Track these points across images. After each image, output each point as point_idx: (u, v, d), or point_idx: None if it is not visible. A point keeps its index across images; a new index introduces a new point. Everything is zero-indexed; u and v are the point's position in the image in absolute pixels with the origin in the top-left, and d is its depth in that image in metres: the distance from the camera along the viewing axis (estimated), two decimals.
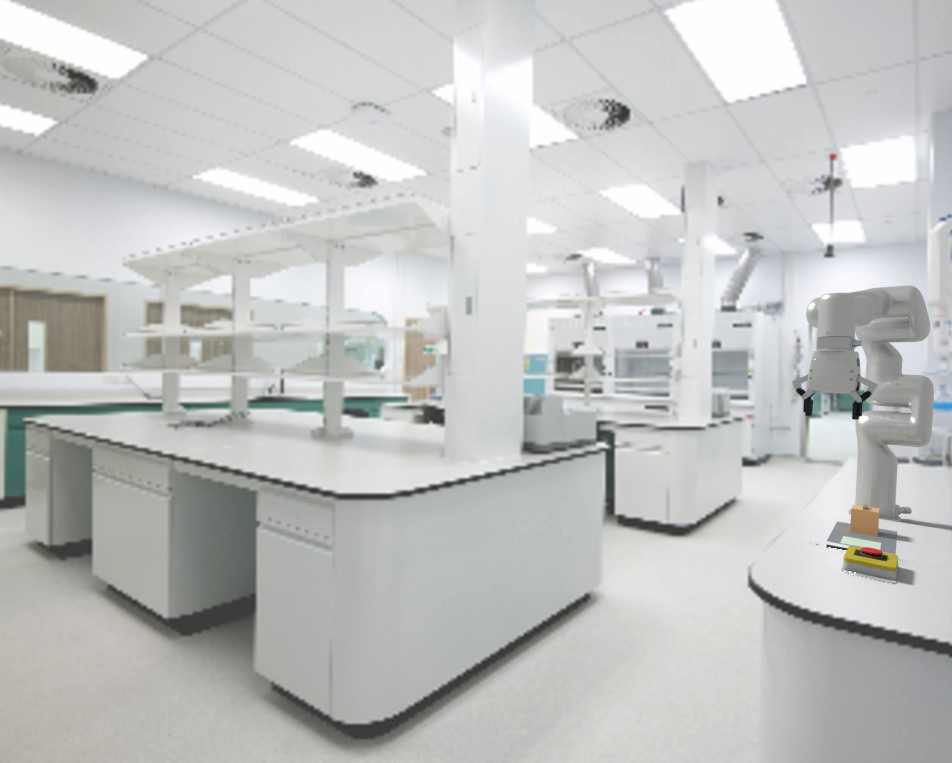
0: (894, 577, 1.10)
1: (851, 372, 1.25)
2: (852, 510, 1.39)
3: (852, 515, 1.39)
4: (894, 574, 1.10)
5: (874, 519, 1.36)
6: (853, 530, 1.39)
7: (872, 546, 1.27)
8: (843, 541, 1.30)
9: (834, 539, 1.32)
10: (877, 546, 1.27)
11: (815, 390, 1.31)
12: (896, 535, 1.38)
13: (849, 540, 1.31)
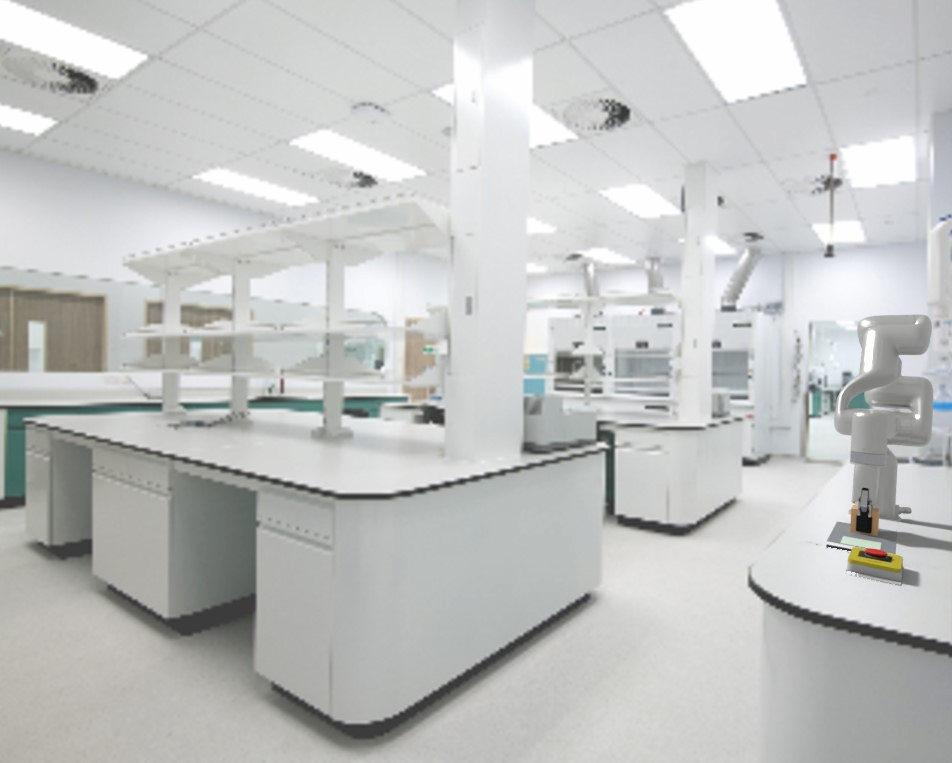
0: (899, 578, 1.09)
1: None
2: (852, 510, 1.39)
3: (852, 515, 1.39)
4: (899, 575, 1.09)
5: (874, 519, 1.36)
6: (853, 530, 1.39)
7: (872, 546, 1.27)
8: (843, 541, 1.30)
9: (834, 539, 1.32)
10: (877, 546, 1.27)
11: (874, 504, 1.36)
12: (896, 535, 1.38)
13: (849, 540, 1.31)
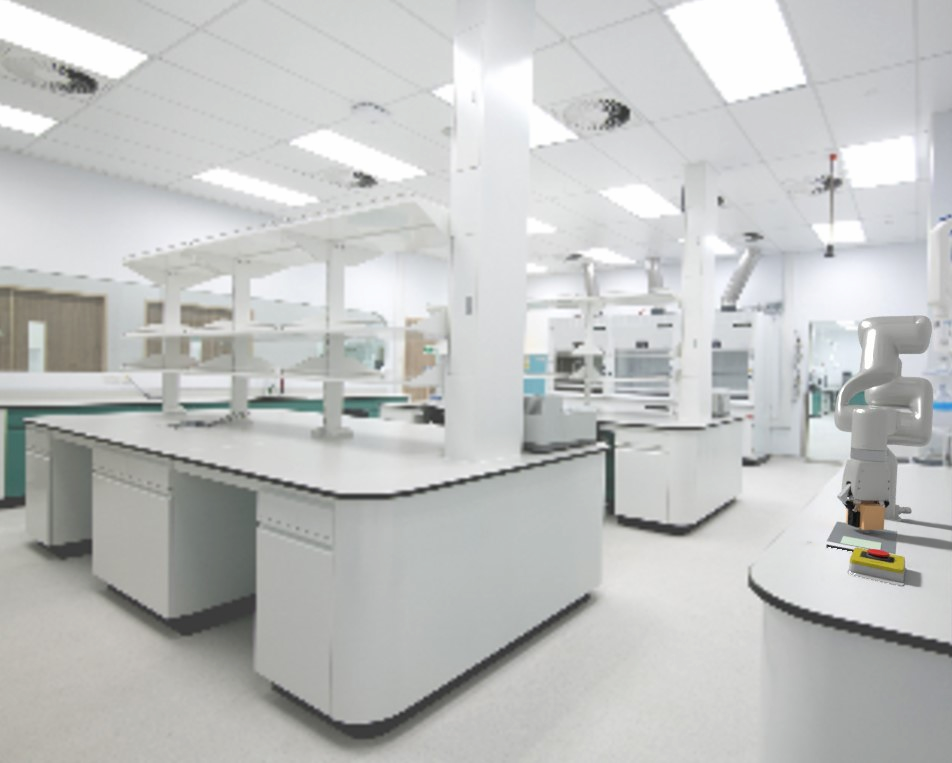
0: (901, 579, 1.09)
1: (888, 482, 1.38)
2: None
3: None
4: (901, 576, 1.09)
5: (862, 512, 1.38)
6: None
7: (872, 546, 1.27)
8: (843, 541, 1.30)
9: (834, 539, 1.32)
10: (877, 546, 1.27)
11: (861, 499, 1.38)
12: (896, 535, 1.38)
13: (849, 540, 1.31)
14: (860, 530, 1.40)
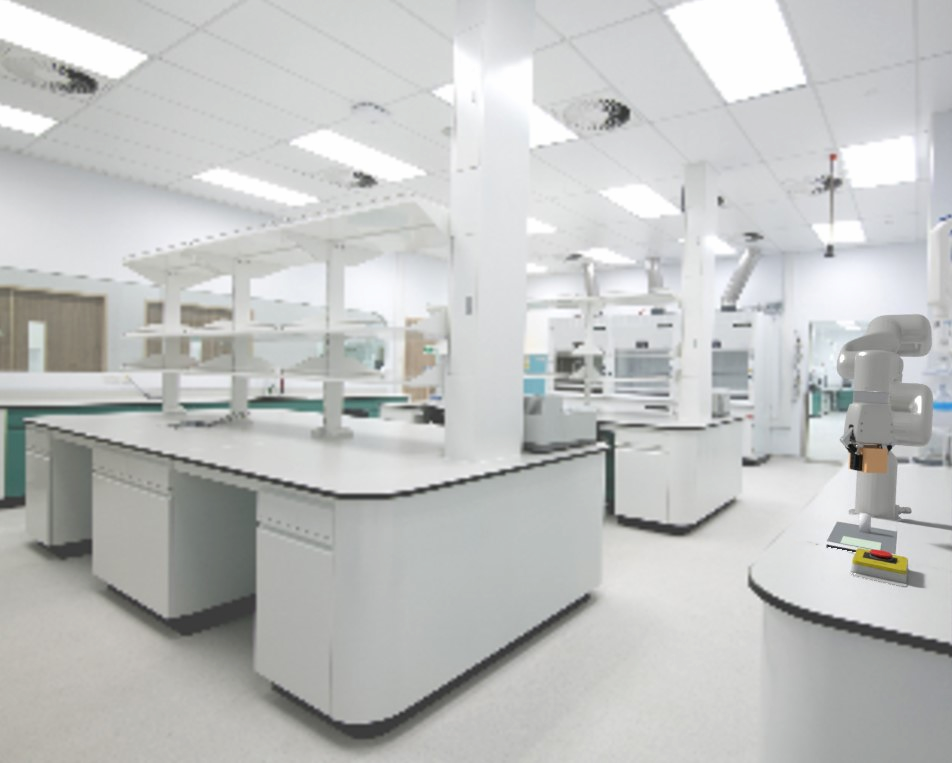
0: (904, 580, 1.08)
1: (891, 425, 1.37)
2: None
3: None
4: (904, 577, 1.09)
5: (865, 455, 1.36)
6: None
7: (872, 546, 1.27)
8: (843, 541, 1.30)
9: (834, 539, 1.32)
10: (877, 546, 1.27)
11: (863, 442, 1.36)
12: (896, 535, 1.38)
13: (849, 540, 1.31)
14: (860, 530, 1.40)
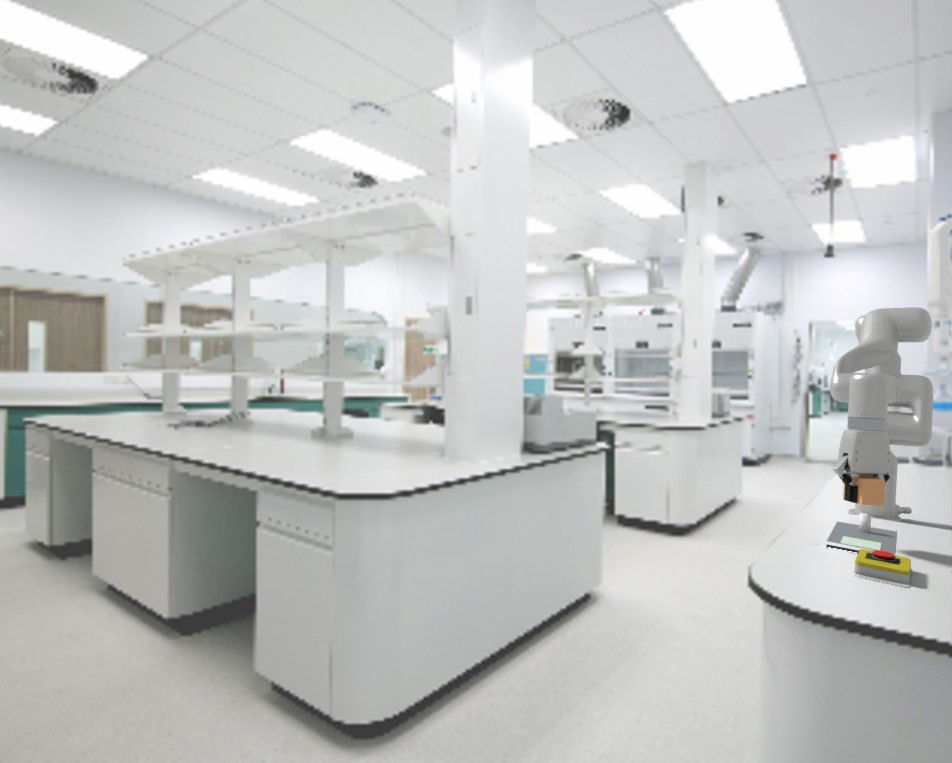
0: (907, 581, 1.08)
1: (888, 454, 1.28)
2: None
3: None
4: (907, 578, 1.08)
5: (860, 486, 1.27)
6: None
7: (872, 546, 1.27)
8: (843, 541, 1.30)
9: (834, 539, 1.32)
10: (877, 546, 1.27)
11: (858, 472, 1.27)
12: (896, 535, 1.38)
13: (849, 540, 1.31)
14: (860, 530, 1.40)
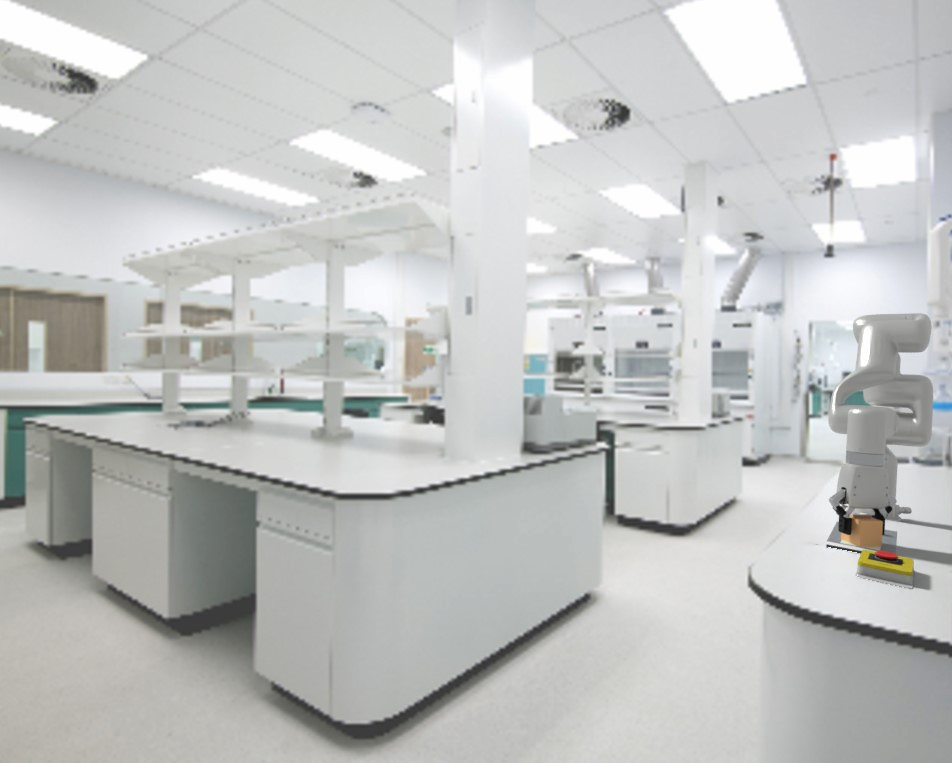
0: (910, 582, 1.08)
1: (886, 488, 1.28)
2: None
3: None
4: (910, 579, 1.08)
5: (858, 528, 1.27)
6: (843, 537, 1.32)
7: None
8: (843, 541, 1.30)
9: (834, 539, 1.32)
10: None
11: (857, 507, 1.27)
12: (896, 535, 1.38)
13: None
14: None
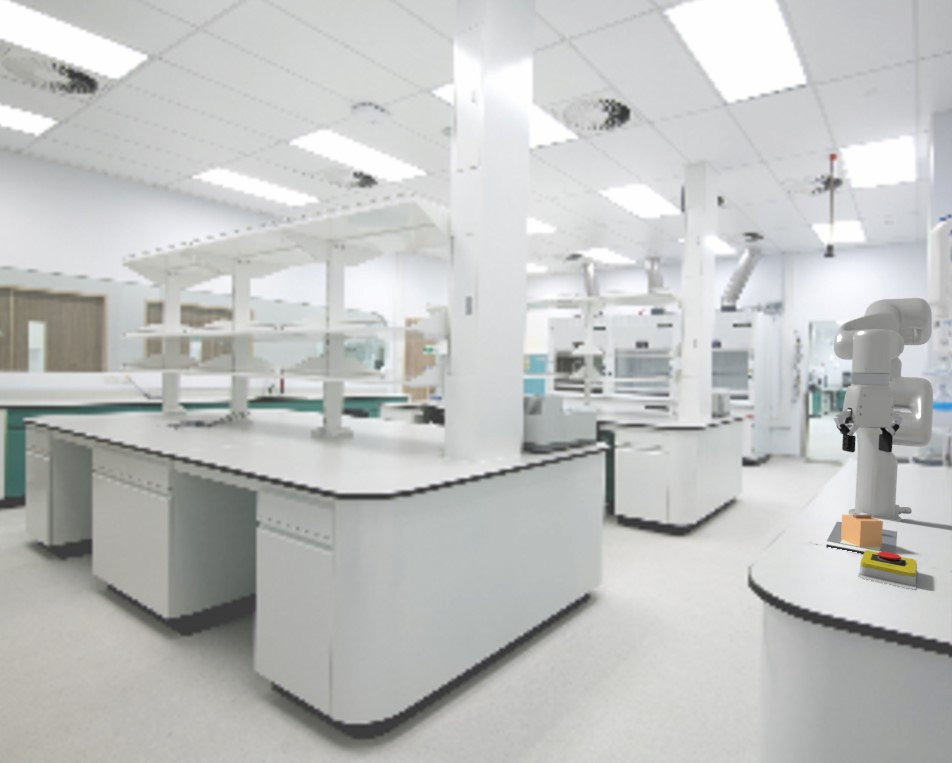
0: (913, 583, 1.07)
1: (891, 407, 1.30)
2: (842, 516, 1.32)
3: (842, 522, 1.32)
4: (913, 580, 1.07)
5: (858, 528, 1.27)
6: (843, 537, 1.32)
7: None
8: (843, 541, 1.30)
9: (834, 539, 1.32)
10: None
11: (862, 426, 1.30)
12: (896, 535, 1.38)
13: None
14: None
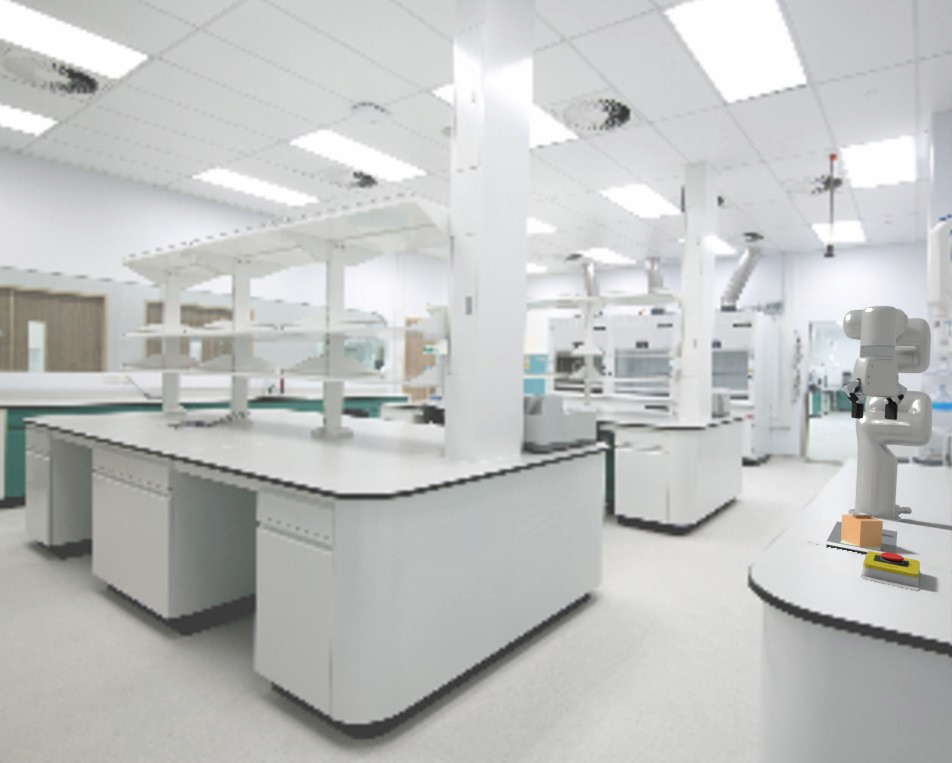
0: (916, 584, 1.07)
1: (897, 378, 1.42)
2: (842, 516, 1.32)
3: (842, 522, 1.32)
4: (916, 581, 1.07)
5: (858, 528, 1.27)
6: (843, 537, 1.32)
7: None
8: (843, 541, 1.30)
9: (834, 539, 1.32)
10: None
11: (870, 395, 1.41)
12: (896, 535, 1.38)
13: None
14: None
